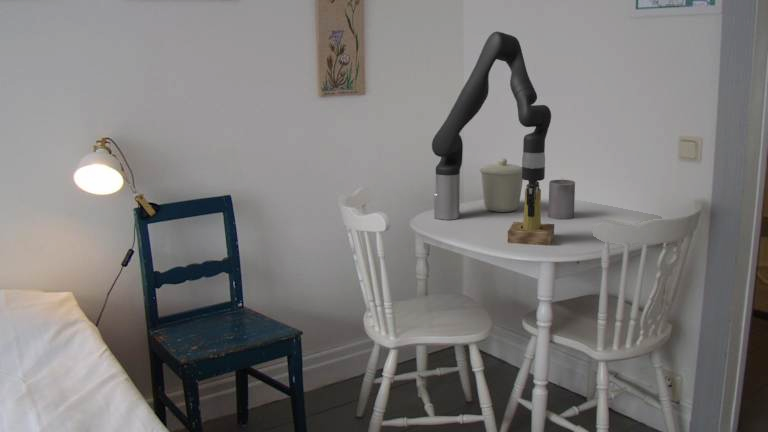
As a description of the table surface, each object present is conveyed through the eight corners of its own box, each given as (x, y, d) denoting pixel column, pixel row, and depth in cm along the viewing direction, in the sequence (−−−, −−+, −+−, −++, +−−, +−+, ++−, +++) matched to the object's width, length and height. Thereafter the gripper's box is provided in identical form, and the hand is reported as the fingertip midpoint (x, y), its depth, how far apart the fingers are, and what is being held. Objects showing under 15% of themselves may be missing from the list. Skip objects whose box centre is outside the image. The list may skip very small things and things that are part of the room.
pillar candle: (555, 212, 291) (556, 175, 287) (578, 215, 285) (579, 177, 281) (543, 217, 284) (544, 179, 280) (567, 220, 277) (568, 181, 274)
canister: (533, 209, 297) (534, 157, 293) (505, 216, 285) (506, 162, 281) (497, 203, 310) (498, 153, 306) (469, 210, 298) (470, 158, 294)
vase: (540, 232, 248) (542, 191, 245) (522, 232, 249) (523, 190, 246) (540, 228, 254) (542, 187, 250) (522, 227, 255) (523, 187, 252)
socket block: (507, 242, 247) (507, 231, 247) (513, 232, 260) (513, 221, 260) (550, 245, 243) (550, 233, 242) (553, 235, 256) (554, 224, 255)
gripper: (524, 161, 254) (523, 209, 258) (519, 168, 241) (518, 218, 245) (546, 162, 252) (545, 210, 256) (542, 169, 239) (541, 219, 242)
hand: (532, 214), depth 250 cm, fingers closed on vase, 5 cm apart
